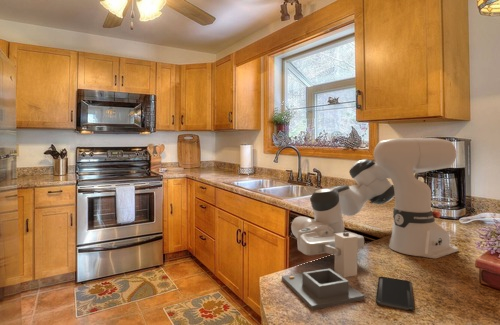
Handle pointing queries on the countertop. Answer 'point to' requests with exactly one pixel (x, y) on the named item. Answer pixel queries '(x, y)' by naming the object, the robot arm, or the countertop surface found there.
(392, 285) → the phone
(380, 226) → the countertop surface
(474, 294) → the countertop surface
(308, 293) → the dock
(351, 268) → the cream square peg
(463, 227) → the countertop surface
